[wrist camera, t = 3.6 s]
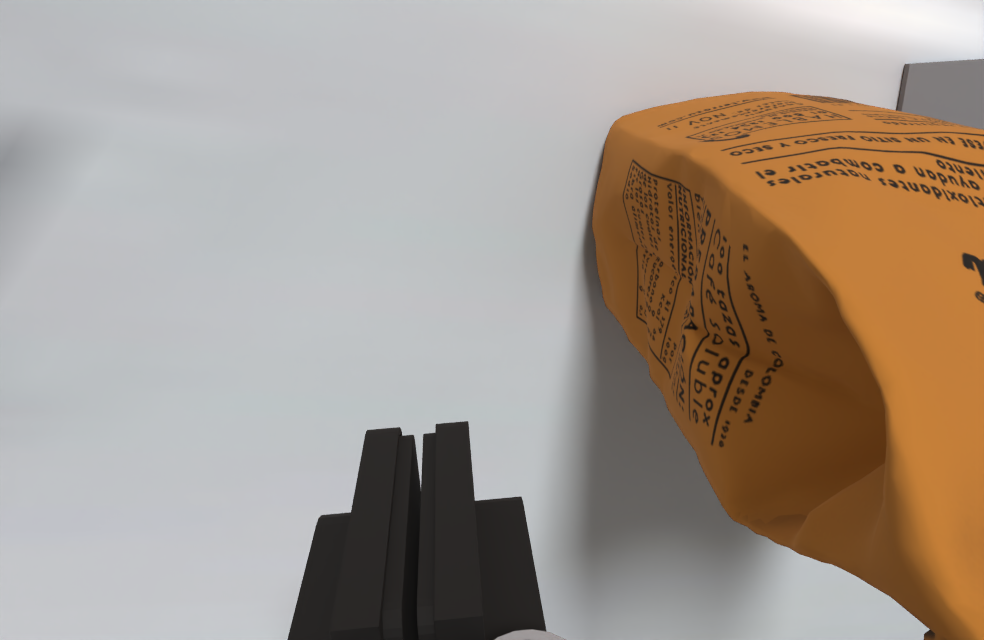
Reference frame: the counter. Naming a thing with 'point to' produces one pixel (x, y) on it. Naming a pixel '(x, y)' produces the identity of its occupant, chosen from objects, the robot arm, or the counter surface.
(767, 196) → the coffee package
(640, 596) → the counter surface
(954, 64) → the mat
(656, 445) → the counter surface
